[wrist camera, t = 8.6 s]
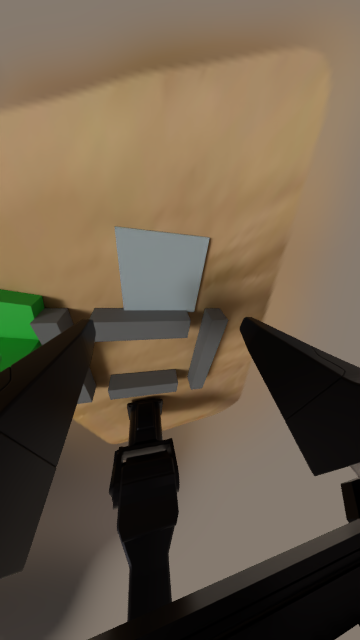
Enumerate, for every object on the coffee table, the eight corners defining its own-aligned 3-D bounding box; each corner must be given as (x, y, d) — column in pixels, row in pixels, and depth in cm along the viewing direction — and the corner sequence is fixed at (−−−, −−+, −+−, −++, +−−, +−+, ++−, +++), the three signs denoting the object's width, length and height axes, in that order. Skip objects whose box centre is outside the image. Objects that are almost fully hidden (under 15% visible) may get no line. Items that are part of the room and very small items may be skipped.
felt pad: (193, 310, 19) (194, 311, 18) (124, 310, 17) (124, 312, 16) (208, 237, 14) (209, 237, 14) (115, 226, 12) (114, 226, 12)
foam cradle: (197, 375, 28) (202, 388, 26) (82, 387, 23) (76, 403, 21) (219, 308, 19) (228, 320, 17) (44, 308, 15) (29, 323, 13)
